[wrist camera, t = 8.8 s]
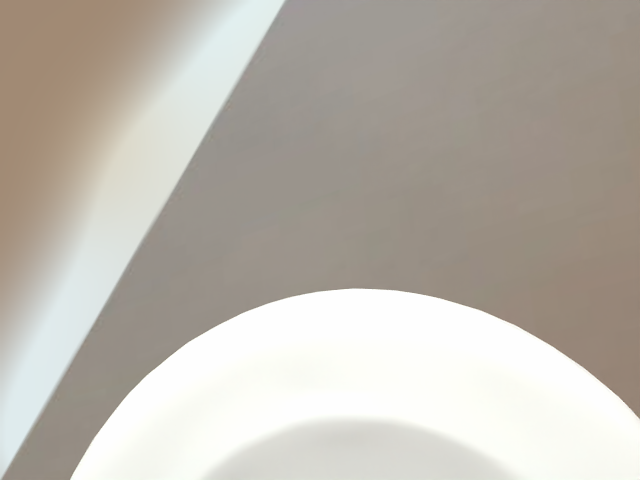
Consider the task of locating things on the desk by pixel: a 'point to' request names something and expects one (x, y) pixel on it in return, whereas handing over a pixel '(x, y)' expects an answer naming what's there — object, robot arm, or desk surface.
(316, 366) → the spice jar
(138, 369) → the desk surface
